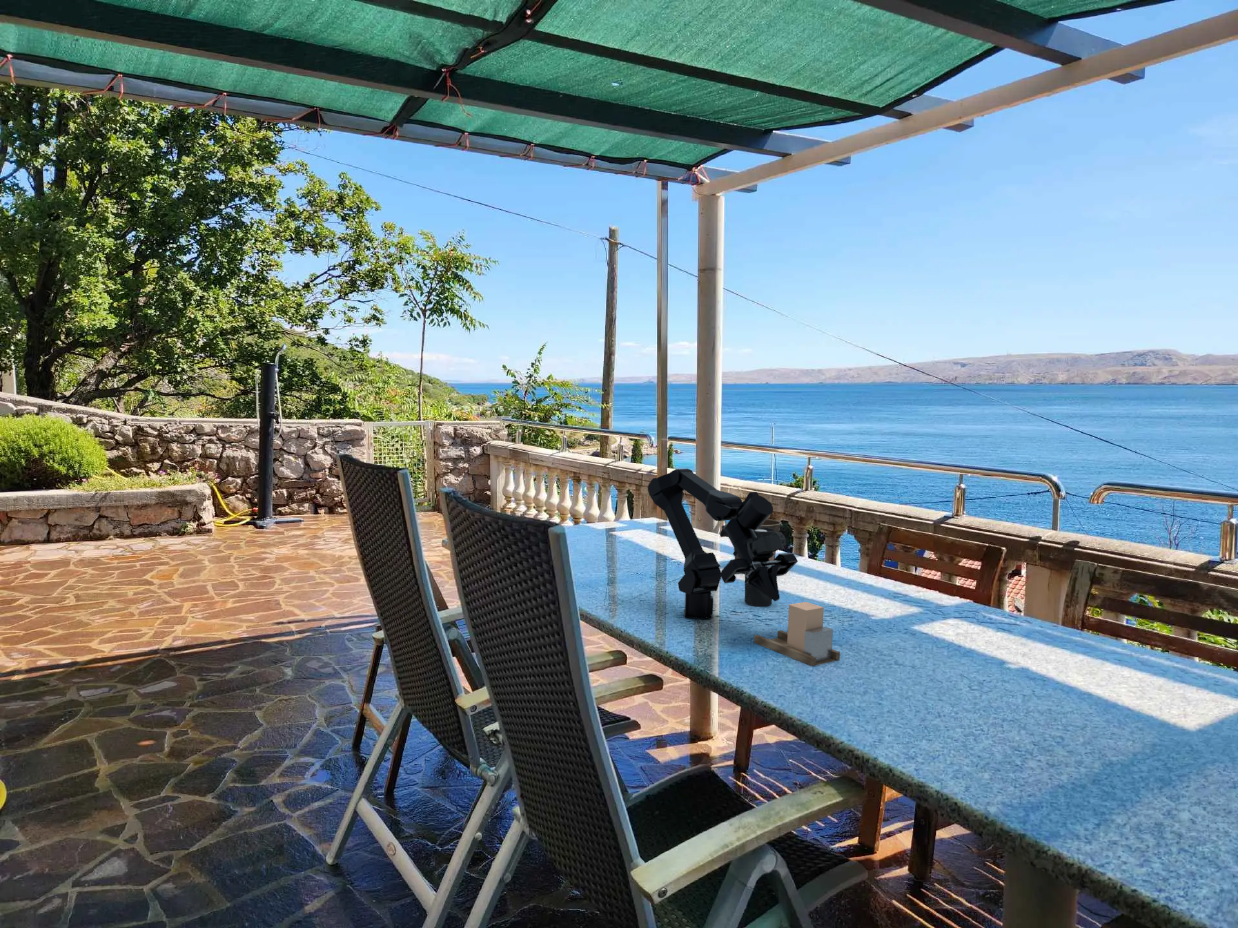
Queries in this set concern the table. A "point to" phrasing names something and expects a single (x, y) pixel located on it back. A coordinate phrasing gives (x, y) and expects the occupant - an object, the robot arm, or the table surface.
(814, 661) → the rail
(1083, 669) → the table surface
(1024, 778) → the table surface
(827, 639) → the grey square block
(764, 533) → the travel mug
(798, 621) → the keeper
